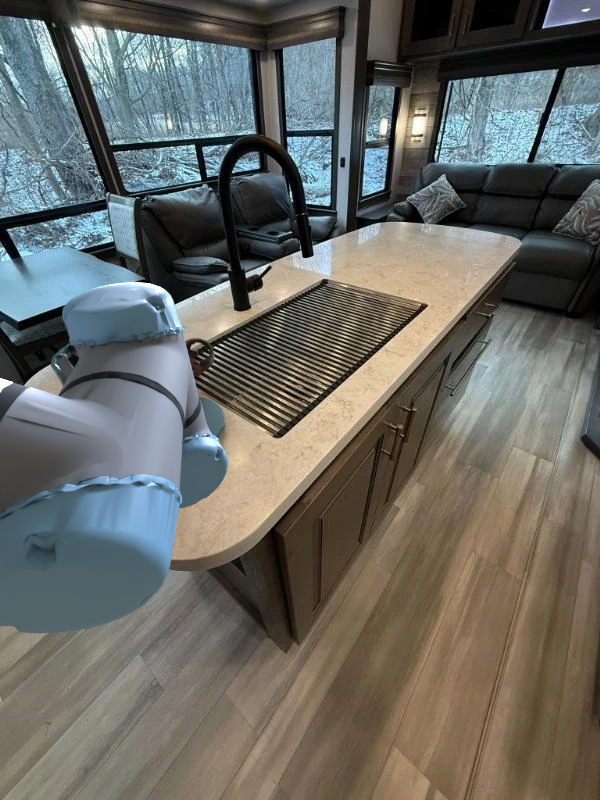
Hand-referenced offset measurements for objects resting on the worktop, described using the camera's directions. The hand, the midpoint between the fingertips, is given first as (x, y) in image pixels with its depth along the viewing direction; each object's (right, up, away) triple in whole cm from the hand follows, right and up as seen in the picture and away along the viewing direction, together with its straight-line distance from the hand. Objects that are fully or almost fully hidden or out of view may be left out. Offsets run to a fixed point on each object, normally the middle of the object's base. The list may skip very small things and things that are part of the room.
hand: (97, 330), depth 54 cm
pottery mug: (+6, -4, +28) cm, 29 cm away
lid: (+9, -16, +10) cm, 21 cm away
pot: (-8, -10, +20) cm, 24 cm away
